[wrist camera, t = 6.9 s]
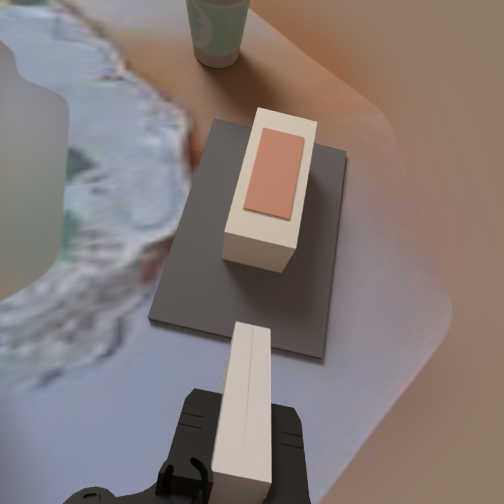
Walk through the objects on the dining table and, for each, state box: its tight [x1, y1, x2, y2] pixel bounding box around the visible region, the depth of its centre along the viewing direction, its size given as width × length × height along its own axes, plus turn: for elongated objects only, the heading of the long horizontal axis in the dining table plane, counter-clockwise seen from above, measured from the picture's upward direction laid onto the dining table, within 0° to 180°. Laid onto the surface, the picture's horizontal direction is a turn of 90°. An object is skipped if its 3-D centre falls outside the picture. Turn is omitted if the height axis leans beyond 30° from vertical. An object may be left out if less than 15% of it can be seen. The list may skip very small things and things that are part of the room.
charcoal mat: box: [148, 119, 346, 359], centre depth 35 cm, size 24×16×1 cm, turn 168°
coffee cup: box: [186, 0, 250, 68], centre depth 39 cm, size 8×8×12 cm
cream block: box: [222, 107, 317, 273], centre depth 33 cm, size 6×6×14 cm
